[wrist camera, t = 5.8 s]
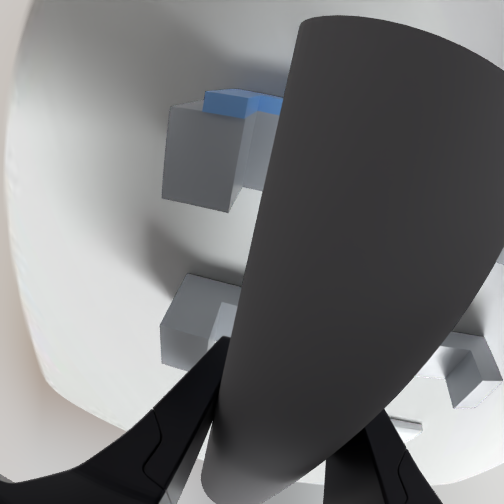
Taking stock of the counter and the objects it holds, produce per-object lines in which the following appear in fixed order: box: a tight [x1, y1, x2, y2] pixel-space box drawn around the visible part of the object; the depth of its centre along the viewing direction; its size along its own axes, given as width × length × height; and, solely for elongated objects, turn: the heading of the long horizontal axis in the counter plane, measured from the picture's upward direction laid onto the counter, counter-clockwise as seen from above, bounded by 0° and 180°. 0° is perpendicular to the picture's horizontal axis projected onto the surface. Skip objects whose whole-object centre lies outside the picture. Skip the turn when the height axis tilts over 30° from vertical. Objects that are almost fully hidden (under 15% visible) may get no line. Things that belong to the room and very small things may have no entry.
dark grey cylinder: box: [201, 15, 504, 504], centre depth 7 cm, size 4×16×4 cm, turn 169°
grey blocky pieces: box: [160, 89, 504, 409], centre depth 12 cm, size 20×13×4 cm, turn 79°
